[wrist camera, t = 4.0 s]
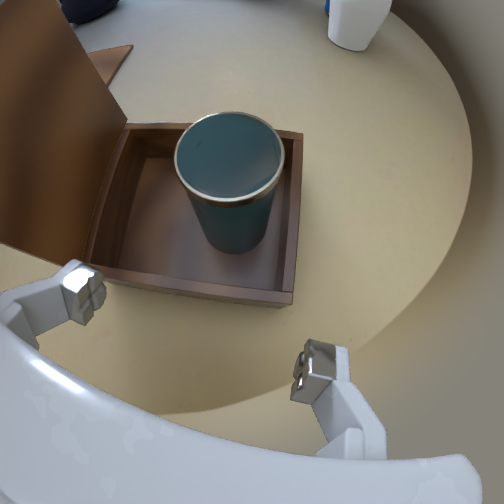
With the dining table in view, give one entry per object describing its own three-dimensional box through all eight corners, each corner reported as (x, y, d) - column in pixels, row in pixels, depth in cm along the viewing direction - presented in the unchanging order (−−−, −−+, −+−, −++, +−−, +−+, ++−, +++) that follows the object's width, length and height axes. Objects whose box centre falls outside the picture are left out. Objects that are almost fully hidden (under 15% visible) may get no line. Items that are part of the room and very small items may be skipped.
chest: (293, 168, 27) (303, 133, 21) (280, 308, 23) (292, 304, 18) (144, 155, 27) (126, 122, 21) (111, 283, 24) (79, 272, 18)
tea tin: (264, 259, 24) (280, 208, 13) (196, 251, 24) (161, 196, 13) (271, 196, 25) (287, 116, 14) (208, 189, 25) (187, 108, 14)
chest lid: (42, -27, 5) (33, -22, 5) (-118, 179, 2) (-119, 180, 2) (128, 119, 21) (120, 120, 21) (80, 271, 17) (72, 270, 18)
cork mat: (72, 155, 27) (70, 152, 26) (3, 161, 27) (1, 160, 26) (133, 46, 32) (132, 44, 32) (62, 62, 32) (61, 60, 32)
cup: (313, 26, 34) (324, -29, 23) (359, 31, 35) (376, -18, 23) (332, 53, 32) (350, -10, 21) (381, 59, 33) (405, 5, 21)
